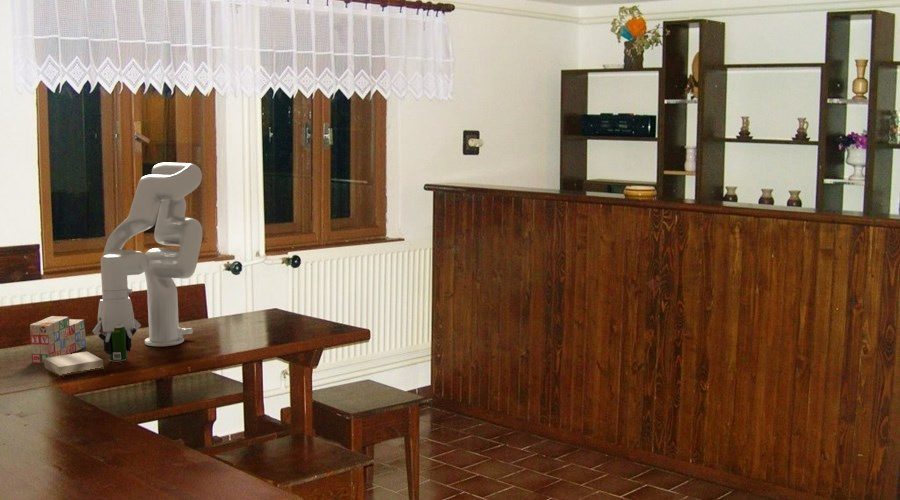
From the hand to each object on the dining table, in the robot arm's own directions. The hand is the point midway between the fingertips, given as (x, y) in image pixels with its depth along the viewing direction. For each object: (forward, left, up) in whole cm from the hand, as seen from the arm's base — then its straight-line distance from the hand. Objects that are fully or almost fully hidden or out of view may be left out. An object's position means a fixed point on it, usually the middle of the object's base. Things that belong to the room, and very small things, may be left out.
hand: (118, 351), depth 323 cm
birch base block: (+14, 0, -3) cm, 14 cm away
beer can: (0, 0, -3) cm, 3 cm away
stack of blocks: (+11, -19, -3) cm, 23 cm away
